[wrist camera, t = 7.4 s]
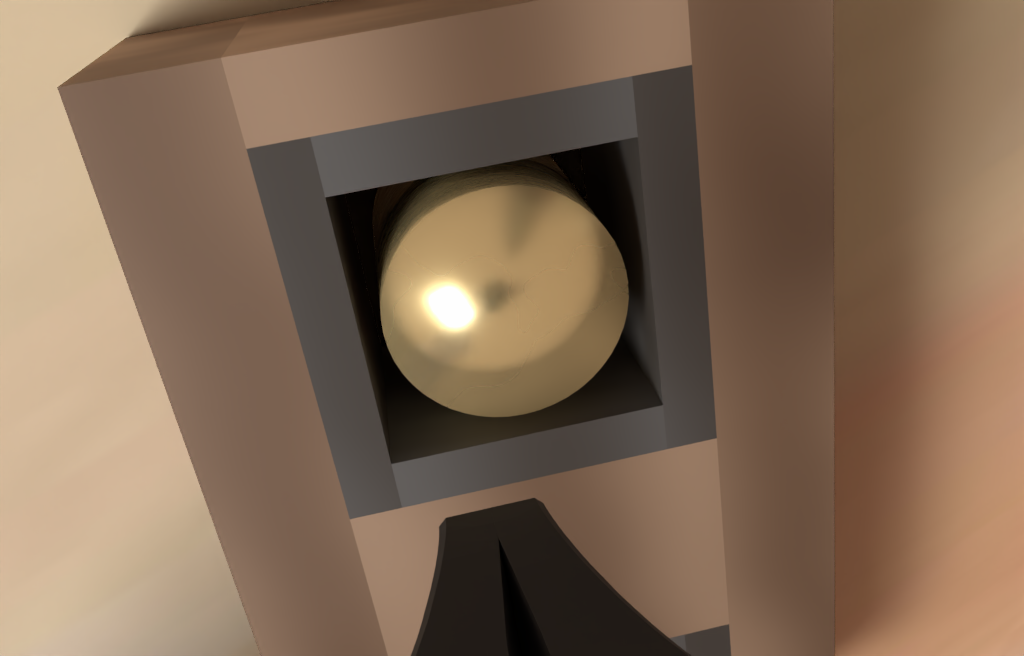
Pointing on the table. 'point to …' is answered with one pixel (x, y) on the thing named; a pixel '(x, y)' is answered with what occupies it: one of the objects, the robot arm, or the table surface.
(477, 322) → the brass peg
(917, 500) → the table surface
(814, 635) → the peg board
